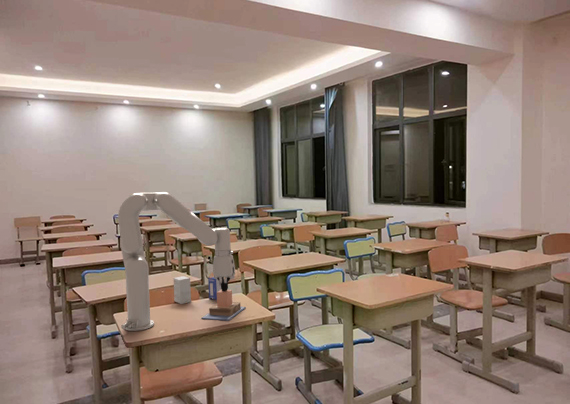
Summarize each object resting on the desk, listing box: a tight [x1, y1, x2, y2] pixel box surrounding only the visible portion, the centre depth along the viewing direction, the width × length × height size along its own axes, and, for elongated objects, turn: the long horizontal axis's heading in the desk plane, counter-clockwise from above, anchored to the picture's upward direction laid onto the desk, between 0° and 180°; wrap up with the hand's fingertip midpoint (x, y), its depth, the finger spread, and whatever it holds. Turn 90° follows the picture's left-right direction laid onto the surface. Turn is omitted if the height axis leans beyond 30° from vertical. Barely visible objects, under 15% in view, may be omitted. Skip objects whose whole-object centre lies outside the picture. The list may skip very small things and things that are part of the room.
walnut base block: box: [208, 301, 242, 316], centre depth 198 cm, size 12×11×3 cm
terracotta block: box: [216, 289, 233, 307], centre depth 198 cm, size 6×6×7 cm
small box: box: [173, 275, 192, 305], centre depth 221 cm, size 8×6×13 cm
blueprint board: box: [201, 306, 246, 322], centre depth 197 cm, size 20×14×1 cm
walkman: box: [207, 276, 222, 301], centre depth 224 cm, size 8×3×12 cm, turn 58°
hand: (224, 290), depth 198 cm, fingers closed
